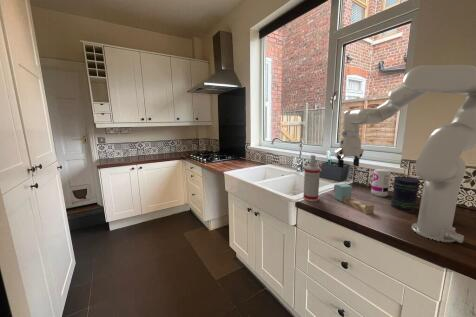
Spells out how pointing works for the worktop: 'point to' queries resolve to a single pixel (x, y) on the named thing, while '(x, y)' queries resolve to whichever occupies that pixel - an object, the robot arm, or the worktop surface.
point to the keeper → (342, 191)
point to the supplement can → (380, 182)
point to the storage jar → (405, 193)
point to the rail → (357, 204)
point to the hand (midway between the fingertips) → (348, 166)
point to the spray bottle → (311, 180)
